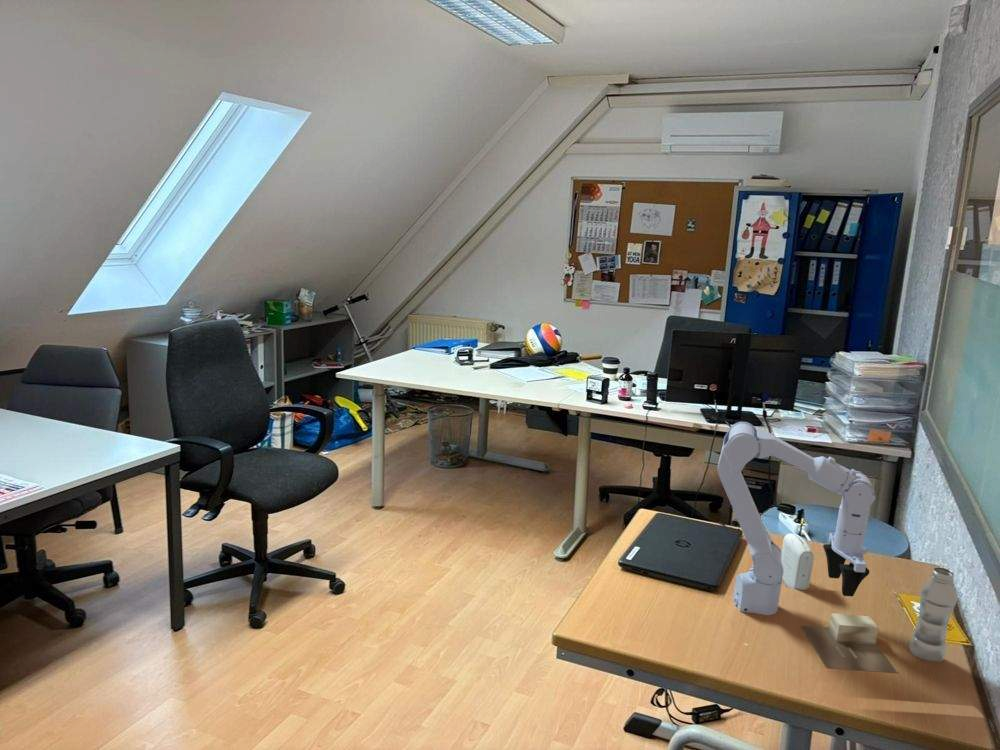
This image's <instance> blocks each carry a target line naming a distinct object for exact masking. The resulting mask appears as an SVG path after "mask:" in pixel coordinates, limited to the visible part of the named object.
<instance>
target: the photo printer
mask: <svg viewBox="0 0 1000 750" xmlns="http://www.w3.org/2000/svg"><path fill="white" fill-rule="evenodd" d="M781 555H782V556H781V561H782V566H783V571H784V573H783V576H782V583H784V584H785V586H786V587H787V588H788V589H796V590H802V591H804V590H805V591H806V590H809V587H810V582H811V577H812V572H813V565H814V561H815V559H814V558H815V555H814V552H813V550H812V547H811V546H810V545H809V543H808V542H807V541H806V540H805V539H804V538H803V537H802V536H800V535H798V534H796V533H787V534H786V535H785V536H784V537H783V540H782V548H781Z"/></svg>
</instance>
